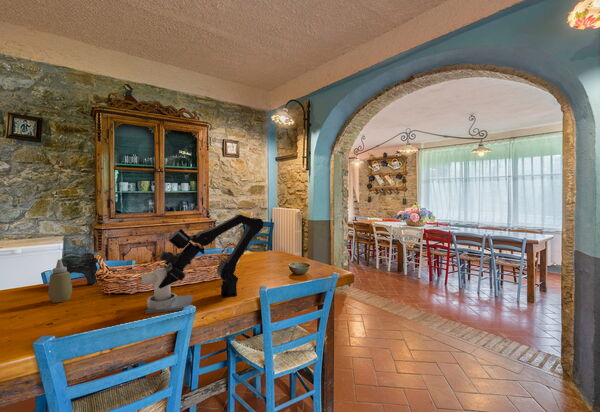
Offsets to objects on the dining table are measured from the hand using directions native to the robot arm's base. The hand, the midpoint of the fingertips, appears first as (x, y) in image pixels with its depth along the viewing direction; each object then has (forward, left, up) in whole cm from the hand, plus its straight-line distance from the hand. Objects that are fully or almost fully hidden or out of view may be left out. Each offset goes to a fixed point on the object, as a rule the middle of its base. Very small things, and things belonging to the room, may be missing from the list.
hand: (158, 285), depth 114 cm
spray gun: (+46, -45, -9) cm, 64 cm away
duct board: (-4, -2, -9) cm, 10 cm away
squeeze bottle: (+43, -21, -9) cm, 48 cm away
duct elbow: (0, +1, -7) cm, 7 cm away
